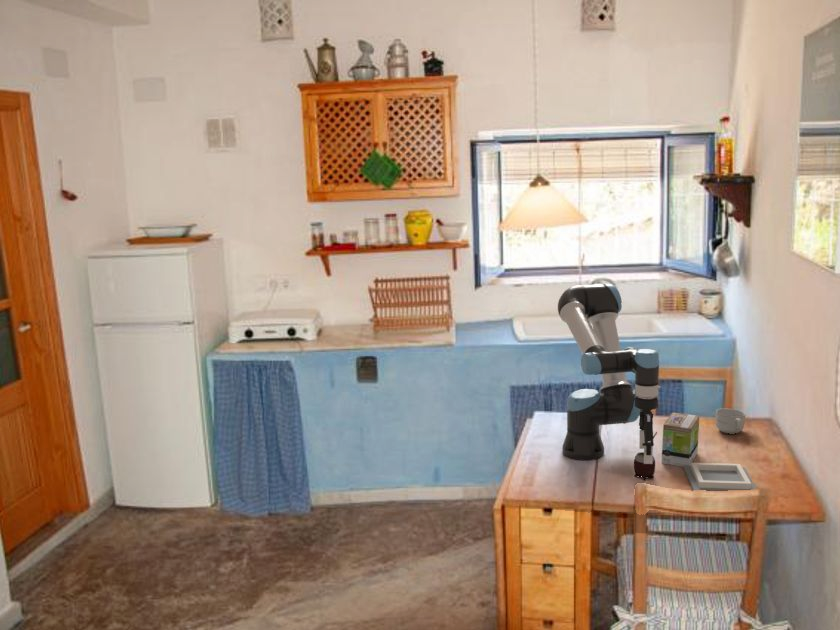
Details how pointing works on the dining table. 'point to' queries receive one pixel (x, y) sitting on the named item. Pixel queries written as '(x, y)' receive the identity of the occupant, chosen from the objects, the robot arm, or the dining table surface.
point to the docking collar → (718, 477)
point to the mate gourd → (644, 466)
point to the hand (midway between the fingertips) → (645, 455)
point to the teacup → (730, 420)
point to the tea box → (680, 439)
